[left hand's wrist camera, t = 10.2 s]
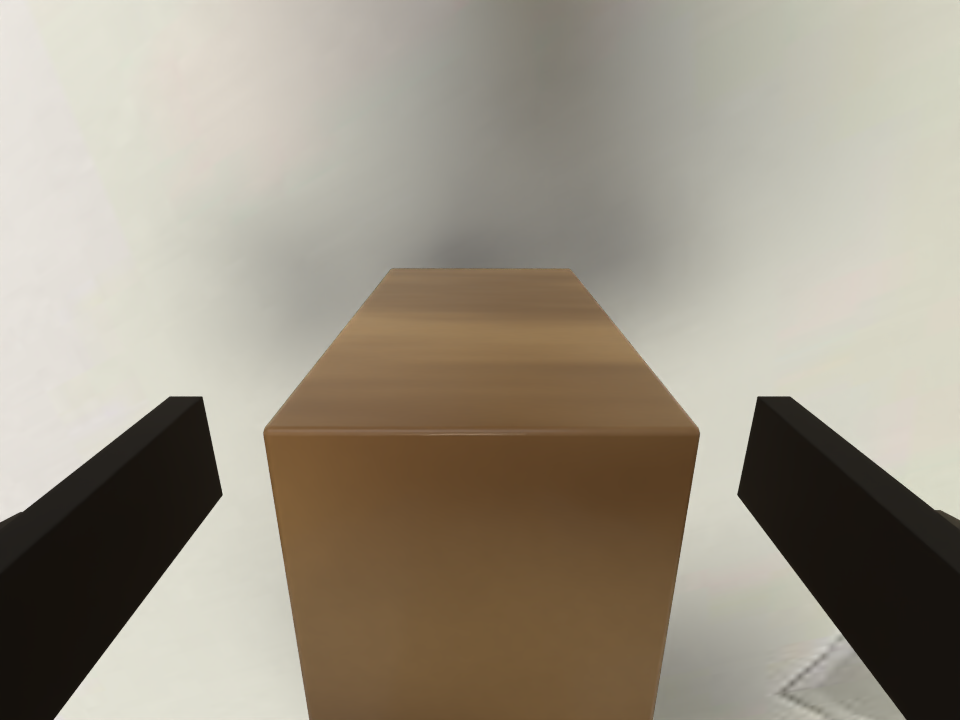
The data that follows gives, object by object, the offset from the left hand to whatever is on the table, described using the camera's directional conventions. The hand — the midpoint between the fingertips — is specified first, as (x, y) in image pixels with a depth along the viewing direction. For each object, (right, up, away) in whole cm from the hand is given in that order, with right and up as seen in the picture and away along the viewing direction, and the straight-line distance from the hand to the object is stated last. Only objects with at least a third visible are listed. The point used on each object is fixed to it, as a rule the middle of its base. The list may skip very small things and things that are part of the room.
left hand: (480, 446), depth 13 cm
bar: (0, -6, +5) cm, 8 cm away
